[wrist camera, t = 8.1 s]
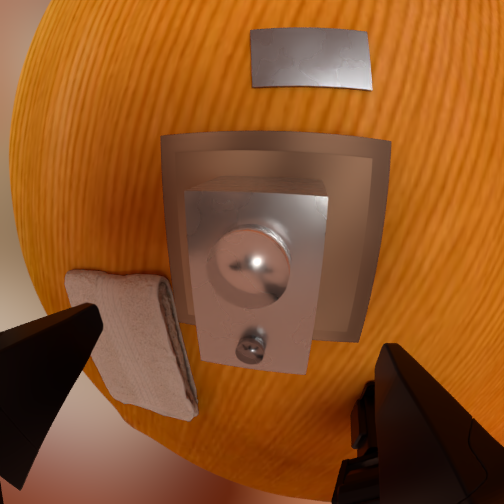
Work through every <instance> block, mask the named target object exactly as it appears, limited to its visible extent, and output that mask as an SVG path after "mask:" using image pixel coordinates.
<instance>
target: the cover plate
mask: <svg viewBox="0 0 504 504" xmlns="http://www.w3.org/2000/svg"><path fill="white" fill-rule="evenodd" d="M250 34H251V60H252V87H253V88H269V87H322V88H341V89H354V90H364V91H372V78H371V65H370V54H369V45H368V37H367V32H364V31H356V30H345V29H331V28H271V29H257V30H250Z"/></svg>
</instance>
